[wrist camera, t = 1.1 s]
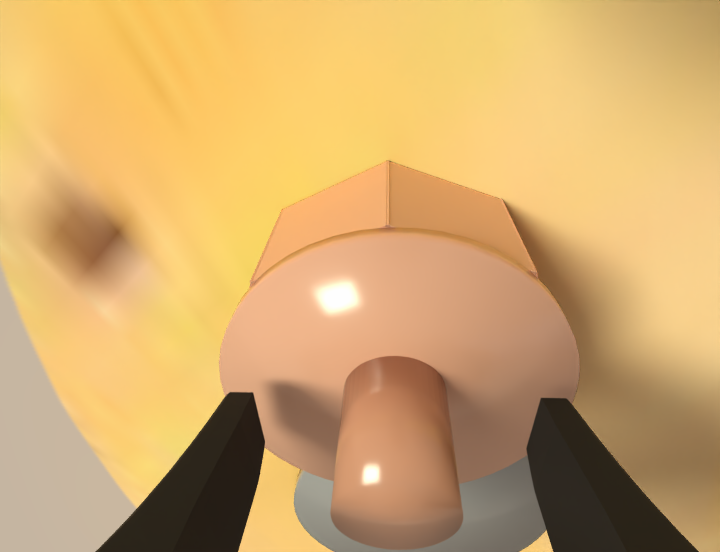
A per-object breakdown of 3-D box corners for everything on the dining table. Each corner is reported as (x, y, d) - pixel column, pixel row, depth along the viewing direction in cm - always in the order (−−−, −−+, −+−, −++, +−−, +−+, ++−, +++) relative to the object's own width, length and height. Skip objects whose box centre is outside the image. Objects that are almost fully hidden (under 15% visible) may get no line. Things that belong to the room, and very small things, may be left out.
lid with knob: (591, 220, 14) (766, 442, 8) (459, 408, 19) (494, 634, 13) (294, 118, 13) (194, 278, 6) (239, 349, 18) (153, 567, 12)
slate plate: (605, 458, 21) (612, 474, 20) (477, 573, 28) (479, 588, 27) (336, 387, 19) (334, 402, 18) (273, 529, 26) (270, 544, 26)
